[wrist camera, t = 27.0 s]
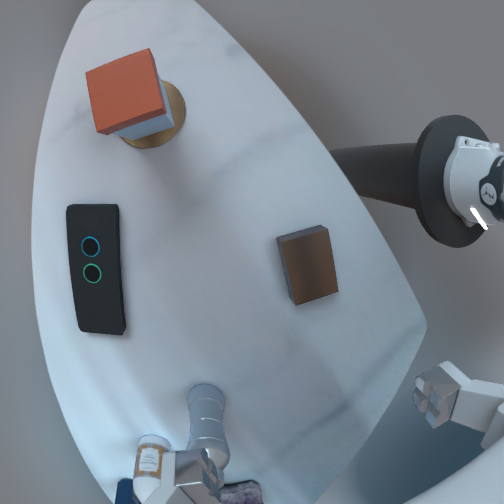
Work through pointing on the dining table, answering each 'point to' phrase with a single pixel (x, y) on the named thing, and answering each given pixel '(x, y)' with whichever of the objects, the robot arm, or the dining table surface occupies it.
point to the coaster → (165, 135)
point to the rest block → (308, 264)
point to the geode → (241, 493)
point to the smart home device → (96, 267)
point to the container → (129, 97)
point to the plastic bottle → (208, 426)
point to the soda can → (126, 493)
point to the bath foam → (148, 465)
